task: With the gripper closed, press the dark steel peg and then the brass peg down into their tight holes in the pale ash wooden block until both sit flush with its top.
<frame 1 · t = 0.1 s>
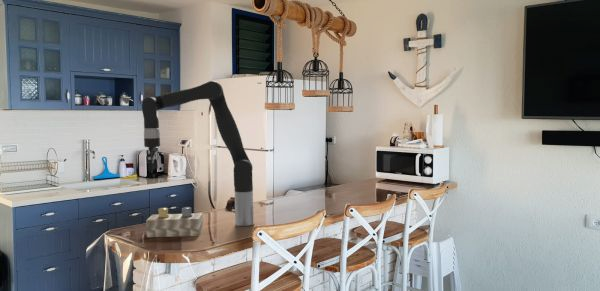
hand: (153, 169, 239), 29 cm above the worktop, tool pointing down, fingers open, 8 cm apart
brass peg: (163, 215, 227), point 9 cm above the worktop, slide at 4.0 cm
ash socket block: (175, 233, 228), on the worktop
pottery mug: (234, 209, 282), on the worktop
steel peg: (186, 215, 228), point 9 cm above the worktop, slide at 4.0 cm
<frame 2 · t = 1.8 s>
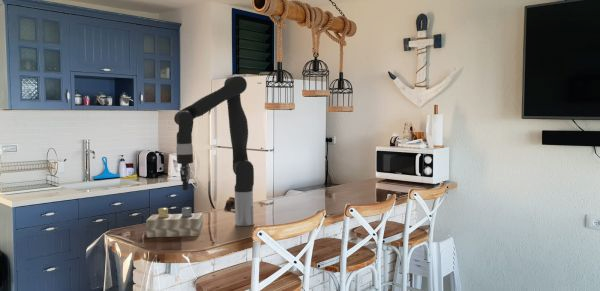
hand: (185, 189, 227), 21 cm above the worktop, tool pointing down, fingers closed
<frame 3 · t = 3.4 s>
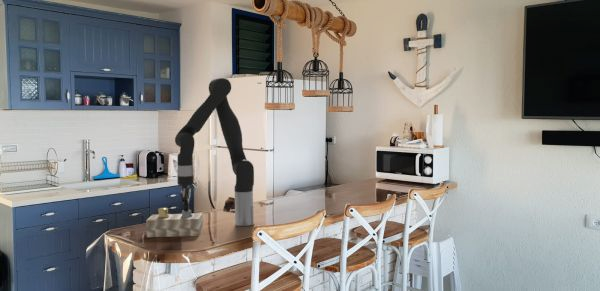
hand: (186, 210, 228), 11 cm above the worktop, tool pointing down, fingers closed
steel peg: (186, 217, 228), point 7 cm above the worktop, slide at 2.7 cm, touching gripper
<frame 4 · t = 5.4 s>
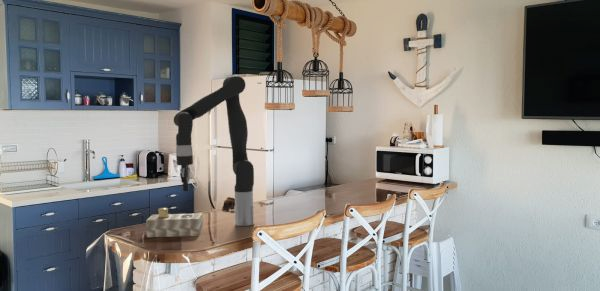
hand: (186, 190, 227), 20 cm above the worktop, tool pointing down, fingers closed
steel peg: (186, 223, 228), point 4 cm above the worktop, slide at -0.1 cm
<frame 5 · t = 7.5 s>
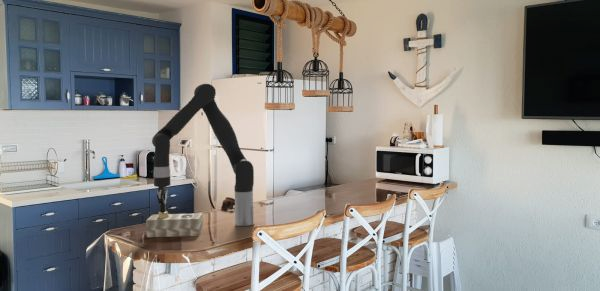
hand: (163, 211, 227), 10 cm above the worktop, tool pointing down, fingers closed
brass peg: (163, 219, 227), point 7 cm above the worktop, slide at 2.4 cm, touching gripper
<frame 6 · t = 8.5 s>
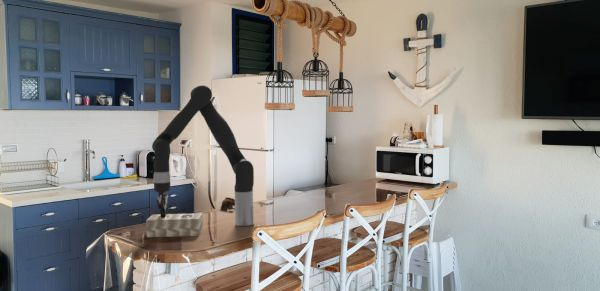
hand: (163, 217, 227), 8 cm above the worktop, tool pointing down, fingers closed
brass peg: (163, 224, 228), point 4 cm above the worktop, slide at -0.1 cm, touching gripper
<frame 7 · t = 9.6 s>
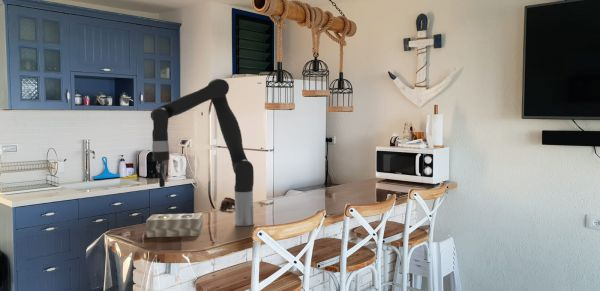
hand: (162, 186, 226), 23 cm above the worktop, tool pointing down, fingers closed
brass peg: (163, 224, 228), point 4 cm above the worktop, slide at -0.1 cm
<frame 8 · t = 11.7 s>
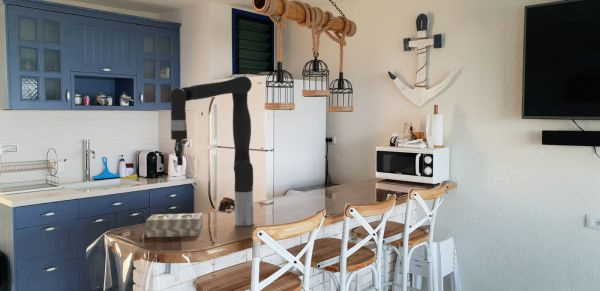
hand: (180, 165, 232), 32 cm above the worktop, tool pointing down, fingers closed
at the end: steel peg slide at -0.1 cm; brass peg slide at -0.1 cm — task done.
